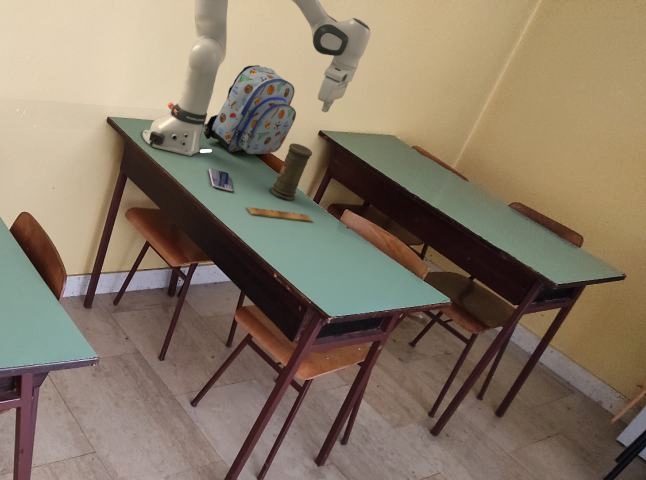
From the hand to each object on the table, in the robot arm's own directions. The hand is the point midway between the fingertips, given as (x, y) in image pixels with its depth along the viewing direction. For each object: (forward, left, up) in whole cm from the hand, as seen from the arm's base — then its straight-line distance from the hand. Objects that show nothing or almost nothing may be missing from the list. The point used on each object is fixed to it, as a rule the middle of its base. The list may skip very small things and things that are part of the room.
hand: (324, 111), depth 218 cm
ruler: (-19, -27, -29) cm, 44 cm away
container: (-10, -10, -29) cm, 32 cm away
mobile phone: (-34, -6, -29) cm, 45 cm away
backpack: (-10, +29, -29) cm, 42 cm away
